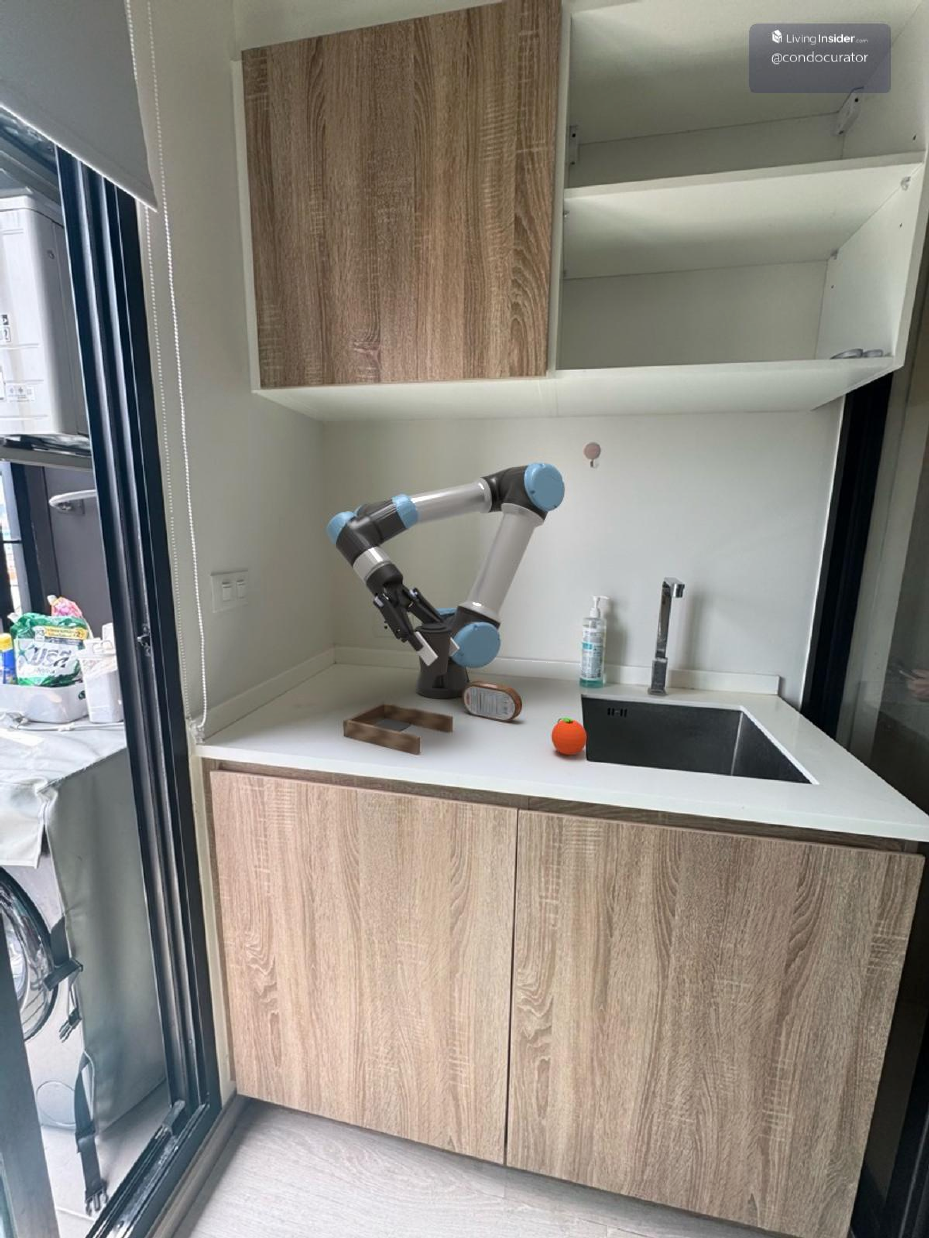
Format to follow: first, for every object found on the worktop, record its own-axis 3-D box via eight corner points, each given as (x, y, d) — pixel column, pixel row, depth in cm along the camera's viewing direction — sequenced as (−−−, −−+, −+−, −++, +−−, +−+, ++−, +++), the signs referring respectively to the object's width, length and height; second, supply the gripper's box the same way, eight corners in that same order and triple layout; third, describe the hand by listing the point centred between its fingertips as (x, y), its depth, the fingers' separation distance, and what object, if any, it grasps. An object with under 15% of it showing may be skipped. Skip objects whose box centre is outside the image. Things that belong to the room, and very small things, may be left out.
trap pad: (355, 735, 113) (355, 734, 113) (386, 719, 123) (386, 718, 123) (381, 742, 110) (381, 740, 110) (411, 725, 119) (411, 724, 119)
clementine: (541, 747, 108) (542, 714, 107) (570, 742, 111) (571, 710, 110) (562, 763, 101) (564, 728, 100) (592, 757, 103) (594, 723, 102)
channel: (343, 736, 113) (343, 720, 112) (383, 716, 125) (383, 702, 124) (417, 754, 104) (417, 738, 103) (452, 731, 116) (452, 716, 115)
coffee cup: (453, 666, 113) (453, 620, 111) (453, 677, 105) (453, 628, 103) (415, 666, 112) (415, 620, 110) (412, 677, 104) (412, 628, 103)
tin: (522, 721, 122) (523, 687, 121) (516, 726, 120) (517, 690, 118) (466, 710, 130) (466, 677, 128) (460, 714, 127) (460, 680, 126)
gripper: (398, 581, 122) (458, 657, 117) (336, 590, 104) (404, 680, 99) (417, 559, 119) (479, 636, 114) (356, 564, 101) (427, 656, 96)
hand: (444, 656), depth 107 cm, fingers closed on coffee cup, 8 cm apart
